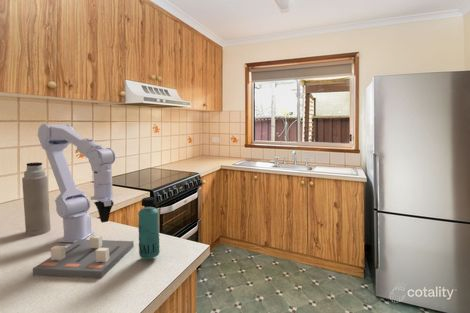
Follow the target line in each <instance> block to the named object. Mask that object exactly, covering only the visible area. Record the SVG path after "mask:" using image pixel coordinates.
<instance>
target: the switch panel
mask: <svg viewBox="0 0 470 313" xmlns="http://www.w3.org/2000/svg"><path fill="white" fill-rule="evenodd" d="M134 242H135V241H134V240H112V239H111V240H109V239H107V240H106V239H102V246H101V247H100V248H90V239H86V238H85V239H79V240H77V241H76V242H74V243H72V242H71V244H69V245H68V246H64V245H55V246H52V248H50V257H49V258H47V259H46V260H44V261H42V262H40V263H39V264H37V265H36V266H34V267H33V268H32V274H33V275H32V276H46V277H47V276H48V277H65V278H66V277H69V278H88V279H89V278H90V279H103V277H104V276H106V274H107V273H108V272H109V271H111V269H113V268H114V267H115V266H116V264H117V263H119V262H120V261H121V260H122V259H123V258H124V257H125V256H126V255H127V254H128V253H129V252H130V251H131V250H132V249H133V248H134V246H135V245H134Z"/></svg>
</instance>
